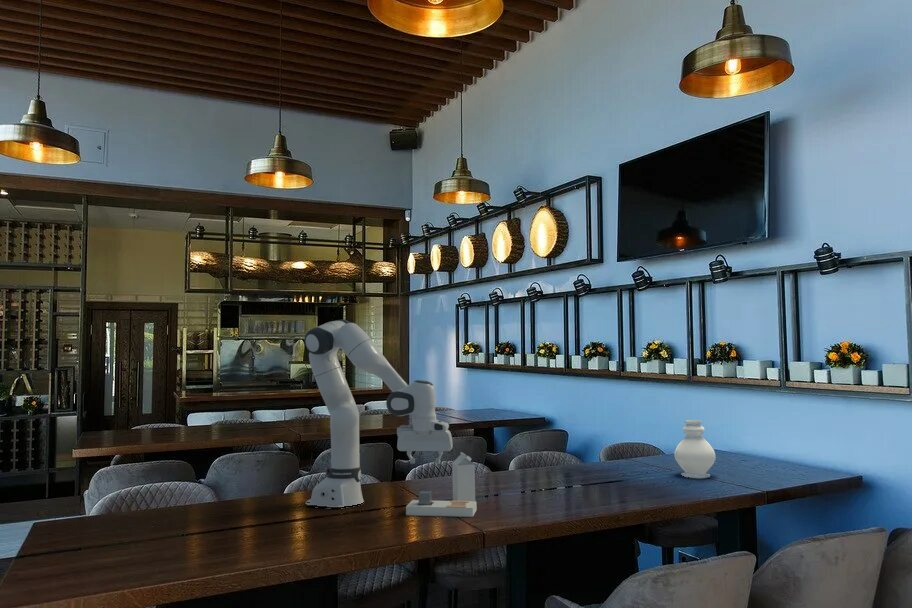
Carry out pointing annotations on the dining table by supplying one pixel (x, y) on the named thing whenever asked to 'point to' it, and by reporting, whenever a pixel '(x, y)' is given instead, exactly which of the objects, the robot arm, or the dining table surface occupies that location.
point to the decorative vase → (694, 451)
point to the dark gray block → (425, 498)
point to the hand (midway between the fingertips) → (425, 463)
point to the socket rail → (443, 508)
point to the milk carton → (463, 478)
